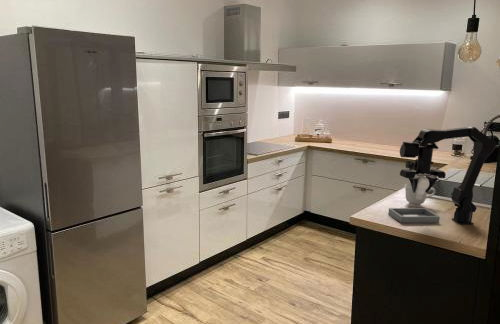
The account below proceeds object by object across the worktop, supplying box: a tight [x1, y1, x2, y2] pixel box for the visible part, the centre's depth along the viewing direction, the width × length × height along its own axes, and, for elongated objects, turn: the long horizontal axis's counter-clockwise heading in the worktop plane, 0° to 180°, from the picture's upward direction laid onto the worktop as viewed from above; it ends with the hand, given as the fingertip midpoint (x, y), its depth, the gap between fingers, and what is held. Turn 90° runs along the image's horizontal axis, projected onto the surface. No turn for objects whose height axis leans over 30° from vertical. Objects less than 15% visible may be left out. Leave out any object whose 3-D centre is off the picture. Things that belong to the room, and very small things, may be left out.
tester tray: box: [387, 207, 440, 225], centre depth 178 cm, size 18×12×3 cm, turn 97°
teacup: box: [403, 182, 436, 208], centre depth 197 cm, size 12×15×10 cm
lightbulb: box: [416, 176, 429, 200], centre depth 173 cm, size 6×6×11 cm
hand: (420, 192), depth 173 cm, fingers closed on lightbulb, 6 cm apart
